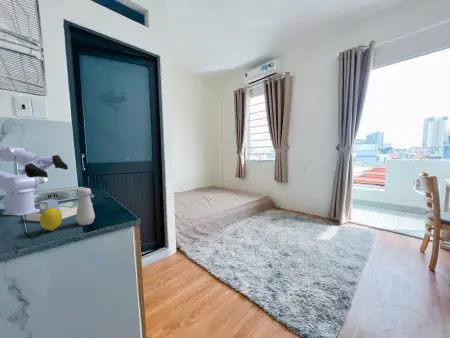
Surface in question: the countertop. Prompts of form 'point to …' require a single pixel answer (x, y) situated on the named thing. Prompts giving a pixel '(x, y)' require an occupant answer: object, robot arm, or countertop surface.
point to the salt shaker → (84, 207)
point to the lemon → (50, 219)
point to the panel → (64, 209)
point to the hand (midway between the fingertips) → (57, 170)
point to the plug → (48, 205)
